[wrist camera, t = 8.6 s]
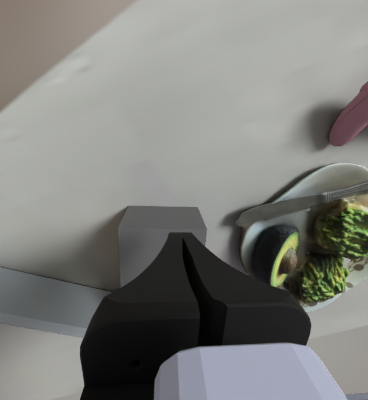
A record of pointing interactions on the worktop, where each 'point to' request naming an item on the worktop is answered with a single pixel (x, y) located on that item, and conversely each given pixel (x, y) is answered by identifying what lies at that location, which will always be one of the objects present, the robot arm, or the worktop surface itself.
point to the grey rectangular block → (152, 235)
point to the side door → (47, 303)
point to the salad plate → (311, 236)
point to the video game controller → (351, 119)
